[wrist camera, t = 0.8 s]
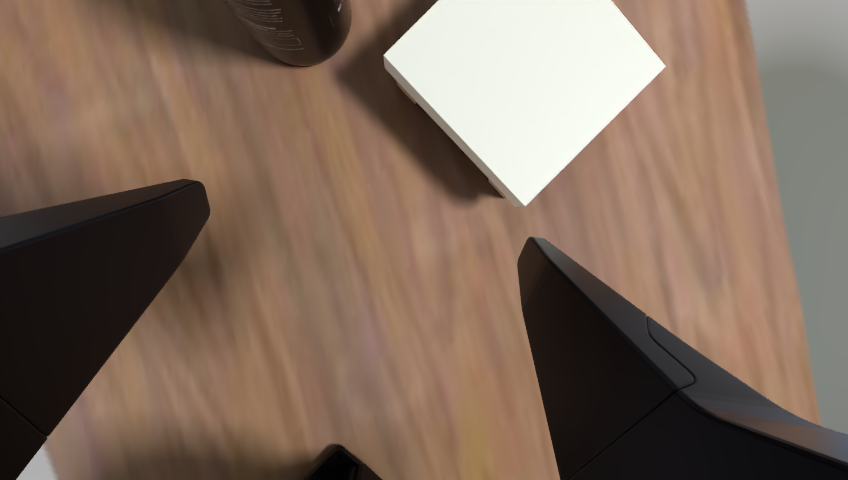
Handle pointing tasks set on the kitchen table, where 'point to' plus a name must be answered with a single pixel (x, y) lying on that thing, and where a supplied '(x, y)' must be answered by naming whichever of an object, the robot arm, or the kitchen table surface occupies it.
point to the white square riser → (522, 81)
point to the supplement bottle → (296, 27)
